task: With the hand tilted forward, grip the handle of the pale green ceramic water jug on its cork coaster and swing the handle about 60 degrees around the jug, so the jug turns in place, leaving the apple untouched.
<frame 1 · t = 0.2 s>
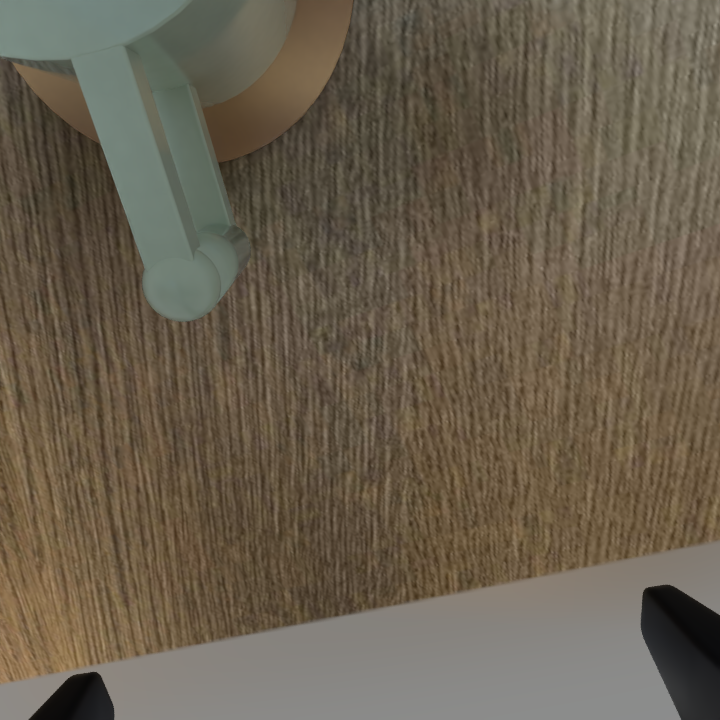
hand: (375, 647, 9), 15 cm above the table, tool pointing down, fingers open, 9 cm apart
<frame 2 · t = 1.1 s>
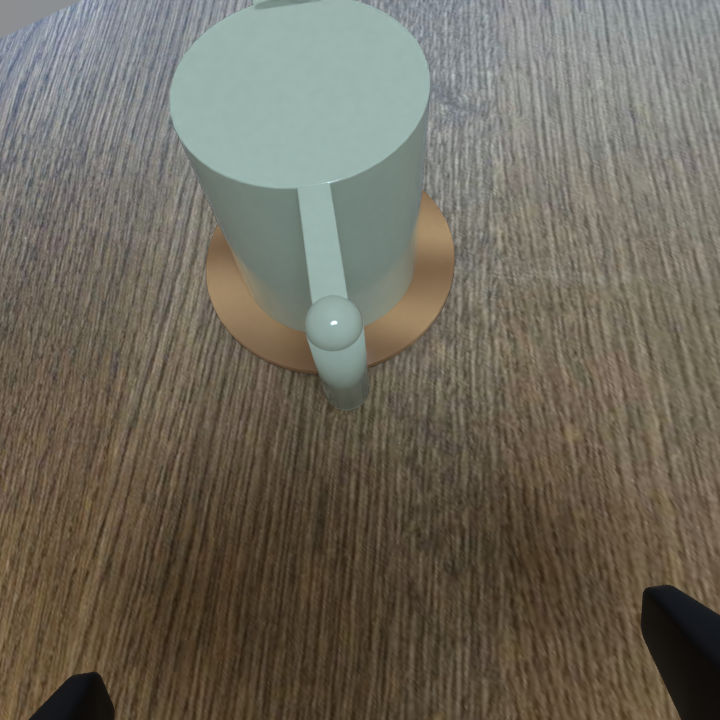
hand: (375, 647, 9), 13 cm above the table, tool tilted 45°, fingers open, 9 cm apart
jug: (322, 224, 22), point 5 cm above the table, hinge at 0.0°
coaster: (330, 260, 28), on the table
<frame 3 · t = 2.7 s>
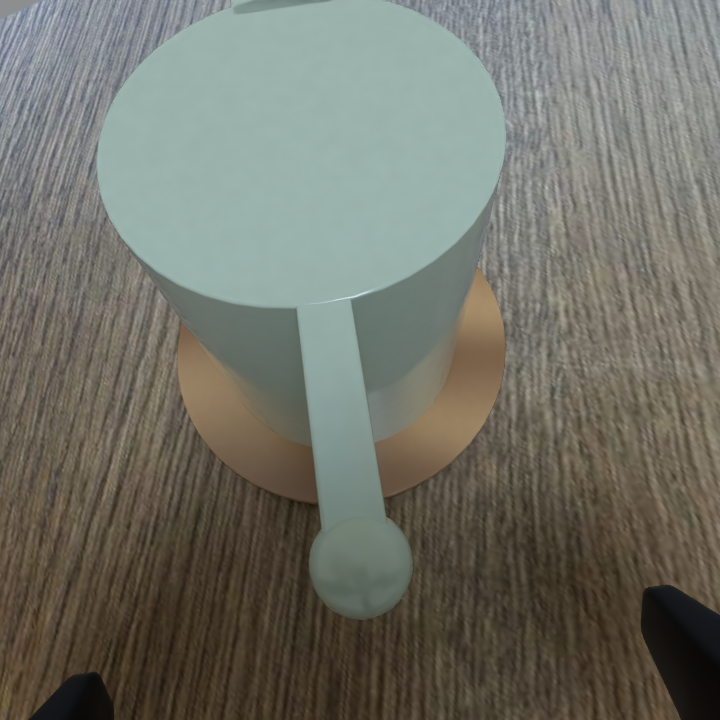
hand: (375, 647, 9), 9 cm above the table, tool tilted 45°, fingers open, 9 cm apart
jug: (333, 318, 16), point 5 cm above the table, hinge at 0.0°
coaster: (340, 341, 21), on the table
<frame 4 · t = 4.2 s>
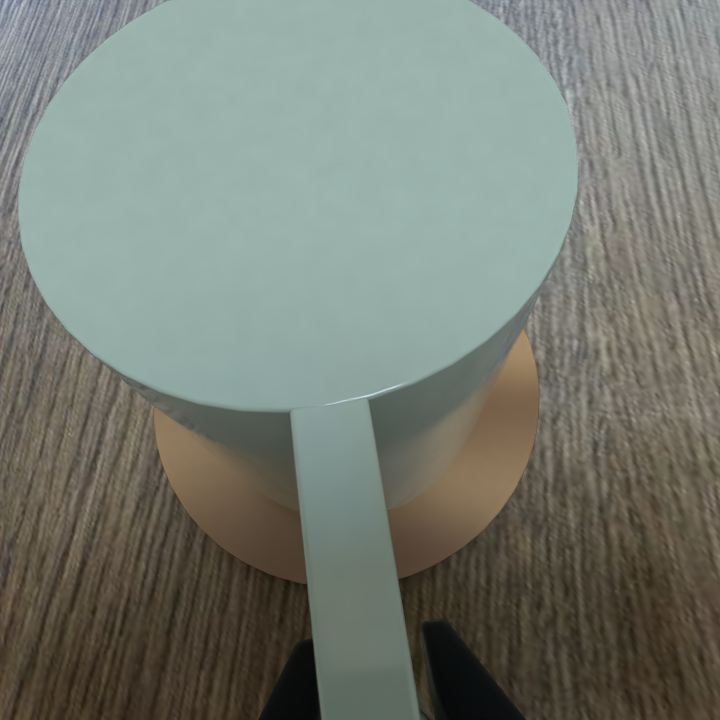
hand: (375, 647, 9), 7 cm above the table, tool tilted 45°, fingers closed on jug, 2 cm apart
jug: (338, 377, 12), point 5 cm above the table, hinge at 0.0°, touching gripper
coaster: (344, 385, 18), on the table
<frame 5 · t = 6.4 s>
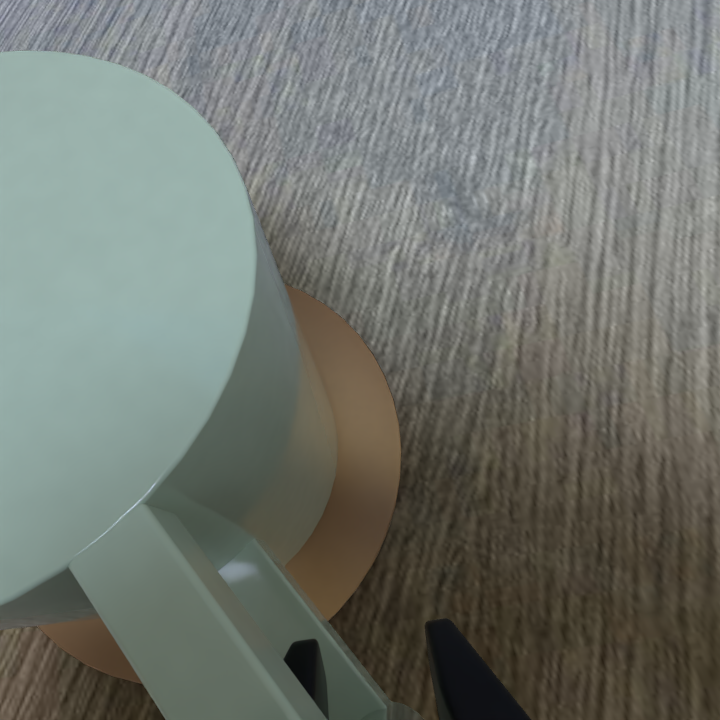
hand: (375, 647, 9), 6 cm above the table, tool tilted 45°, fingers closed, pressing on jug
jug: (164, 465, 11), point 5 cm above the table, hinge at 44.3°, touching gripper
coaster: (199, 455, 17), on the table
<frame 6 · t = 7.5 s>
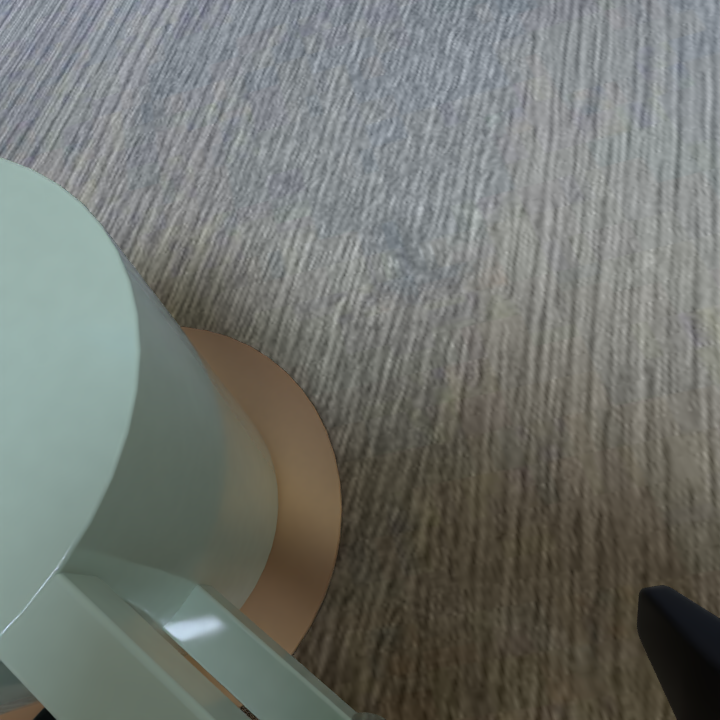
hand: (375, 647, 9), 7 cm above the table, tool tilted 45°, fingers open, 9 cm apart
jug: (96, 531, 11), point 5 cm above the table, hinge at 55.0°, touching gripper
coaster: (140, 513, 17), on the table
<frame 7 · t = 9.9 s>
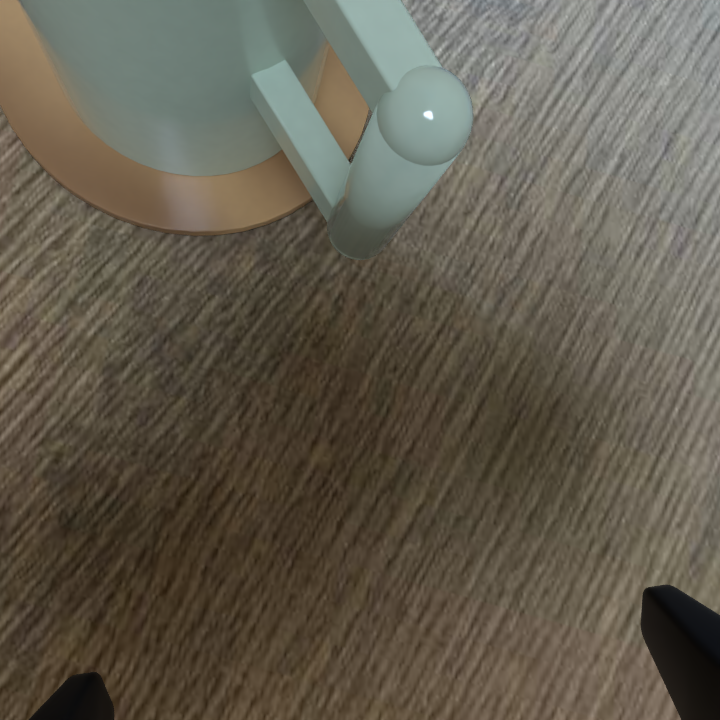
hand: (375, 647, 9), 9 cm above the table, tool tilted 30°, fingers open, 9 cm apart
coaster: (193, 61, 19), on the table
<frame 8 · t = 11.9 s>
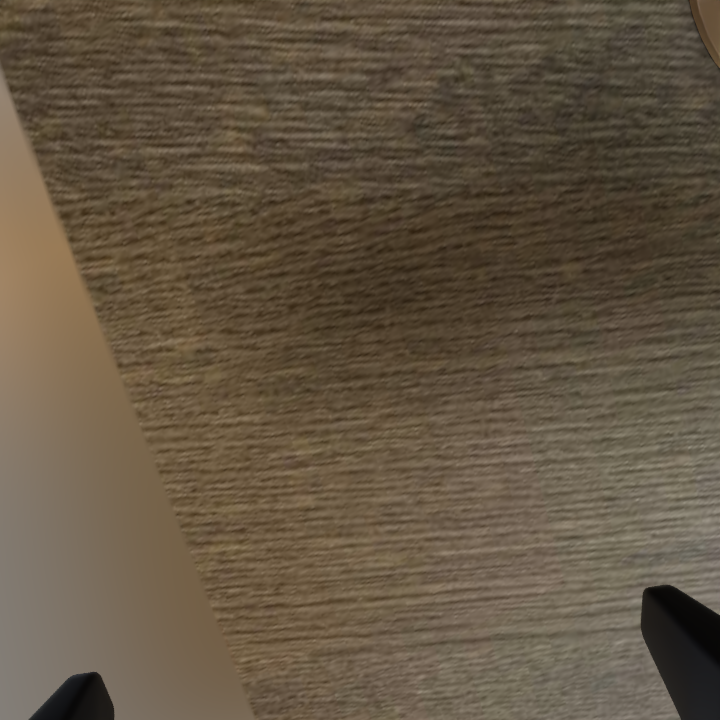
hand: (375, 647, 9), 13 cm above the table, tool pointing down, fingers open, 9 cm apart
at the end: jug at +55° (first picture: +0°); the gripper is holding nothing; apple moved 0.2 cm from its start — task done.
